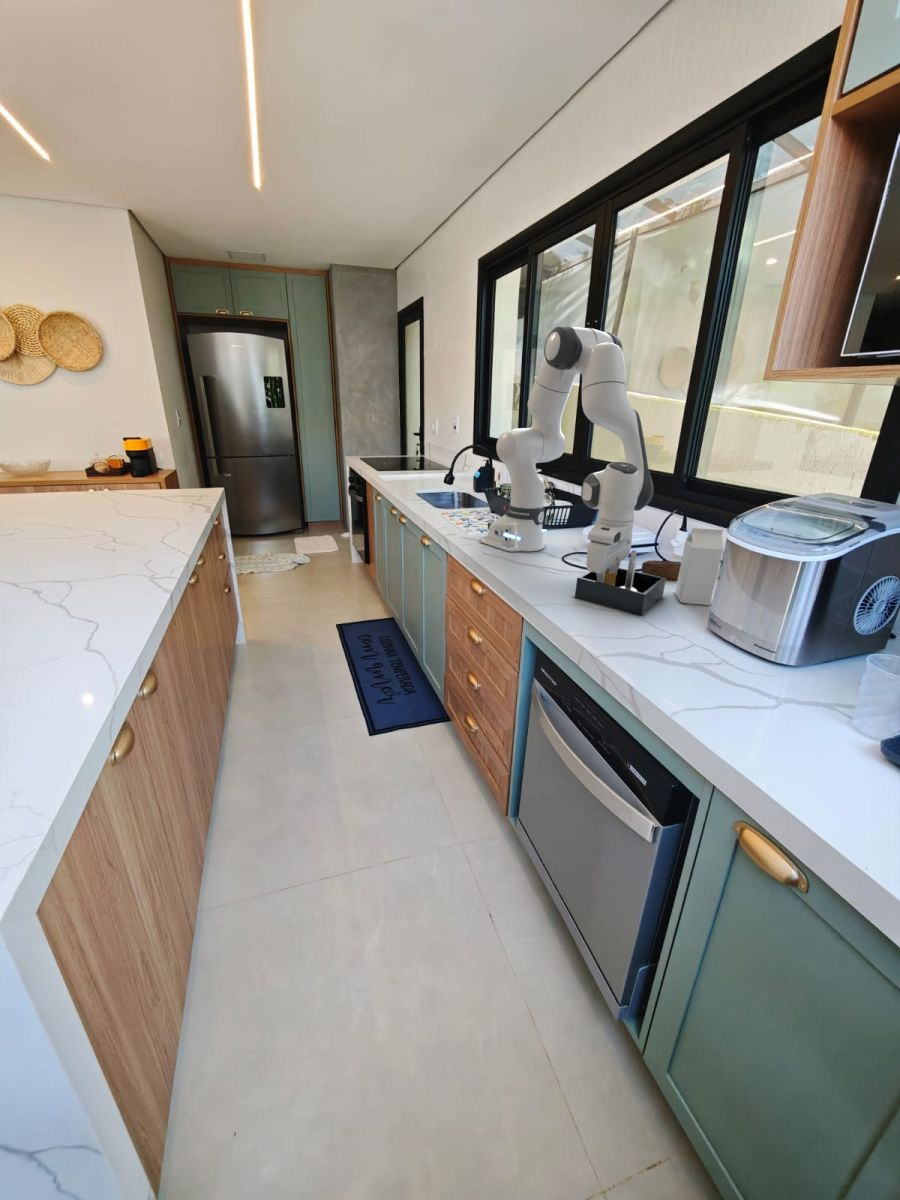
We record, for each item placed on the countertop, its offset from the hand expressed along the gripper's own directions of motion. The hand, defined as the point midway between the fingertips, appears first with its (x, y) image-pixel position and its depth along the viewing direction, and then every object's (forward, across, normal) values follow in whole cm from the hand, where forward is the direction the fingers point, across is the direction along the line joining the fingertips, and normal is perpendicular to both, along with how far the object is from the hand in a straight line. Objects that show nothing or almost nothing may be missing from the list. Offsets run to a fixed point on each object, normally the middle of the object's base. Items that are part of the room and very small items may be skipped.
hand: (606, 580), depth 133 cm
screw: (+4, 0, +6) cm, 7 cm away
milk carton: (+4, -12, +19) cm, 23 cm away
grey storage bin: (+4, 0, +4) cm, 6 cm away
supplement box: (+4, 0, 0) cm, 4 cm away
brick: (+4, -24, +7) cm, 25 cm away
